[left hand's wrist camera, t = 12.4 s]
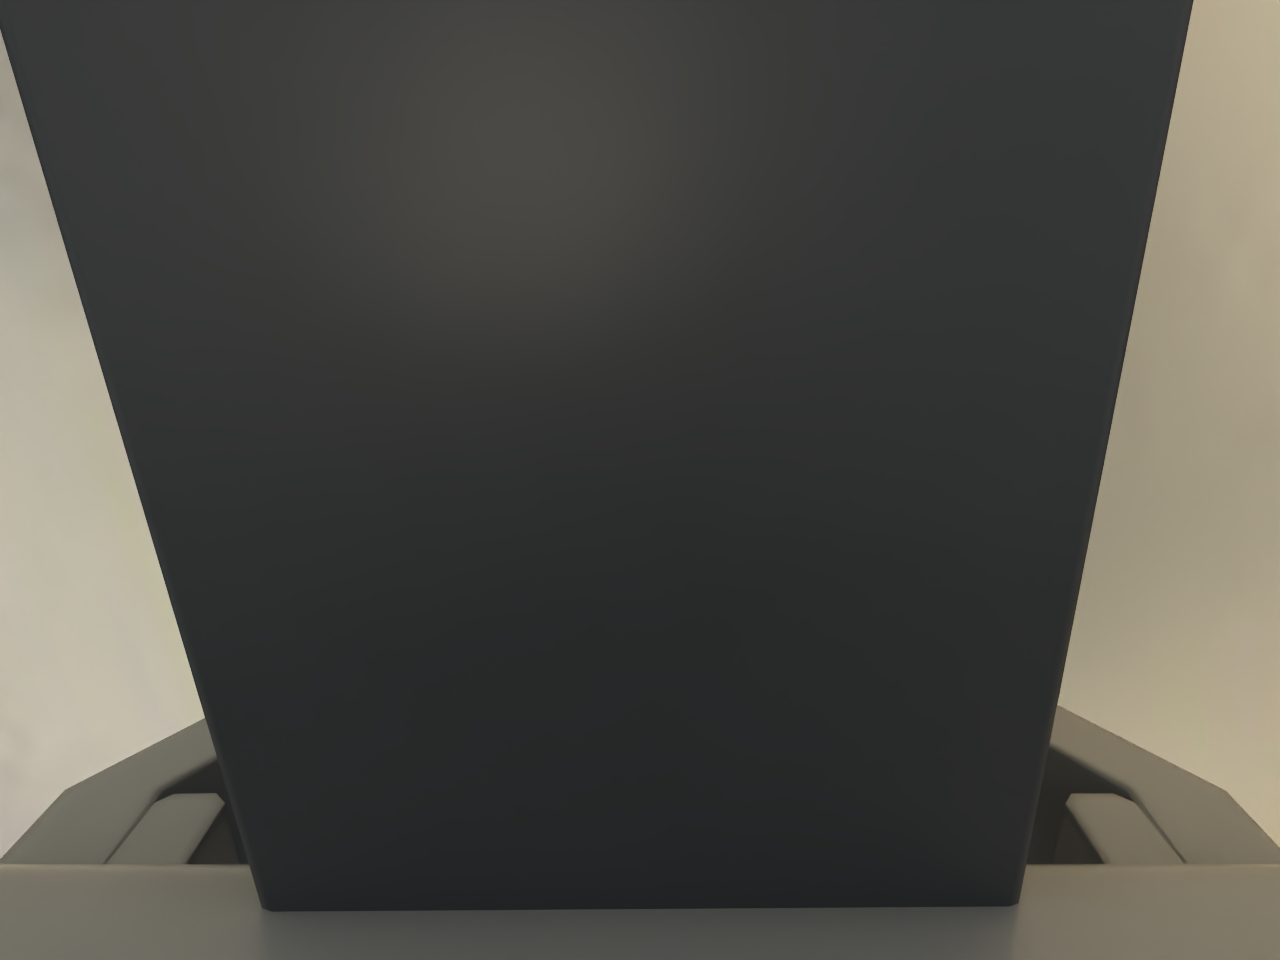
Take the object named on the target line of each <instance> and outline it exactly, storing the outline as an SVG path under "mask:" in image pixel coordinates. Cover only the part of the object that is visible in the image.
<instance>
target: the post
mask: <svg viewBox="0 0 1280 960" xmlns="http://www.w3.org/2000/svg"><path fill="white" fill-rule="evenodd" d="M1192 5H1193V0H0V29H1V33H2V36H3V39H4V43H5V46H6V49H7V53H8V56H9V60H10V63H11V66H12V70H13V73H14V76H15V80H16V83H17V86H18V90H19V93H20V97H21V100H22V103H23V107H24V110H25V113H26V117H27V120H28V123H29V127H30V130H31V134H32V137H33V140H34V144H35V147H36V150H37V154H38V157H39V160H40V164H41V167H42V170H43V174H44V177H45V181H46V184H47V187H48V191H49V194H50V197H51V201H52V204H53V207H54V211H55V214H56V218H57V221H58V224H59V228H60V231H61V234H62V238H63V241H64V244H65V248H66V251H67V255H68V258H69V261H70V265H71V268H72V271H73V275H74V278H75V281H76V285H77V288H78V292H79V295H80V298H81V302H82V305H83V308H84V312H85V315H86V318H87V322H88V325H89V328H90V332H91V335H92V339H93V342H94V345H95V349H96V352H97V355H98V359H99V362H100V365H101V369H102V372H103V376H104V379H105V382H106V386H107V389H108V392H109V396H110V399H111V402H112V406H113V409H114V413H115V416H116V419H117V423H118V426H119V429H120V433H121V436H122V439H123V443H124V446H125V449H126V453H127V456H128V460H129V463H130V466H131V470H132V473H133V476H134V480H135V483H136V486H137V490H138V493H139V497H140V500H141V503H142V507H143V510H144V513H145V517H146V520H147V523H148V527H149V530H150V534H151V537H152V540H153V544H154V547H155V550H156V554H157V557H158V560H159V564H160V567H161V571H162V574H163V577H164V581H165V584H166V587H167V591H168V594H169V597H170V601H171V604H172V607H173V611H174V614H175V618H176V621H177V624H178V628H179V631H180V634H181V638H182V641H183V644H184V648H185V651H186V655H187V658H188V661H189V665H190V668H191V671H192V675H193V678H194V681H195V685H196V688H197V692H198V695H199V698H200V702H201V705H202V708H203V712H204V715H205V718H206V722H207V725H208V729H209V732H210V735H211V739H212V742H213V745H214V749H215V752H216V755H217V759H218V762H219V765H220V769H221V772H222V776H223V779H224V782H225V786H226V789H227V792H228V796H229V799H230V802H231V806H232V809H233V813H234V816H235V819H236V823H237V826H238V829H239V833H240V836H241V839H242V843H243V846H244V850H245V853H246V856H247V860H248V863H249V866H250V870H251V873H252V876H253V880H254V883H255V886H256V890H257V893H258V897H259V900H260V903H261V907H262V908H263V909H266V910H268V911H271V912H295V911H437V910H580V909H722V908H864V907H1007V906H1012V905H1015V904H1017V903H1019V899H1020V894H1021V889H1022V884H1023V879H1024V873H1025V868H1026V863H1027V858H1028V853H1029V848H1030V842H1031V837H1032V832H1033V827H1034V822H1035V816H1036V811H1037V806H1038V801H1039V796H1040V791H1041V785H1042V780H1043V775H1044V770H1045V765H1046V760H1047V754H1048V749H1049V744H1050V739H1051V734H1052V729H1053V723H1054V718H1055V713H1056V708H1057V703H1058V698H1059V692H1060V687H1061V682H1062V677H1063V672H1064V667H1065V661H1066V656H1067V651H1068V646H1069V641H1070V636H1071V630H1072V625H1073V620H1074V615H1075V610H1076V605H1077V599H1078V594H1079V589H1080V584H1081V579H1082V573H1083V568H1084V563H1085V558H1086V553H1087V548H1088V542H1089V537H1090V532H1091V527H1092V522H1093V517H1094V511H1095V506H1096V501H1097V496H1098V491H1099V486H1100V480H1101V475H1102V470H1103V465H1104V460H1105V455H1106V449H1107V444H1108V439H1109V434H1110V429H1111V424H1112V418H1113V413H1114V408H1115V403H1116V398H1117V393H1118V387H1119V382H1120V377H1121V372H1122V367H1123V362H1124V356H1125V351H1126V346H1127V341H1128V336H1129V330H1130V325H1131V320H1132V315H1133V310H1134V305H1135V299H1136V294H1137V289H1138V284H1139V279H1140V274H1141V268H1142V263H1143V258H1144V253H1145V248H1146V243H1147V237H1148V232H1149V227H1150V222H1151V217H1152V212H1153V206H1154V201H1155V196H1156V191H1157V186H1158V181H1159V175H1160V170H1161V165H1162V160H1163V155H1164V150H1165V144H1166V139H1167V134H1168V129H1169V124H1170V119H1171V113H1172V108H1173V103H1174V98H1175V93H1176V87H1177V82H1178V77H1179V72H1180V67H1181V62H1182V56H1183V51H1184V46H1185V41H1186V36H1187V31H1188V25H1189V20H1190V15H1191V10H1192Z"/></svg>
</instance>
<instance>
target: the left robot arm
mask: <svg viewBox="0 0 1280 960" xmlns="http://www.w3.org/2000/svg"><path fill="white" fill-rule="evenodd" d="M0 960H1280V848H1279V847H1278V846H1277V845H1276V843H1275V842H1274V841H1273V840H1272V839H1271V838H1270V837H1269V836H1268V835H1267V834H1266V833H1265V832H1264V831H1263V830H1262V829H1261V828H1260V826H1259V825H1258V824H1257V823H1256V822H1255V821H1254V820H1253V819H1252V818H1251V817H1250V816H1249V815H1248V814H1247V813H1246V812H1245V811H1244V810H1243V808H1242V807H1241V806H1240V805H1239V804H1238V803H1237V802H1236V801H1235V800H1234V799H1233V798H1232V797H1231V796H1230V795H1229V794H1228V793H1227V792H1226V791H1225V790H1223V789H1221V788H1219V787H1217V786H1215V785H1213V784H1211V783H1209V782H1207V781H1205V780H1203V779H1201V778H1199V777H1197V776H1195V775H1193V774H1191V773H1190V772H1188V771H1186V770H1184V769H1182V768H1180V767H1178V766H1176V765H1174V764H1172V763H1170V762H1168V761H1166V760H1164V759H1162V758H1160V757H1158V756H1156V755H1154V754H1152V753H1150V752H1148V751H1146V750H1144V749H1143V748H1141V747H1139V746H1137V745H1135V744H1133V743H1131V742H1129V741H1127V740H1125V739H1123V738H1121V737H1119V736H1117V735H1115V734H1113V733H1111V732H1109V731H1107V730H1105V729H1103V728H1101V727H1099V726H1097V725H1096V724H1094V723H1092V722H1090V721H1088V720H1086V719H1084V718H1082V717H1080V716H1078V715H1076V714H1074V713H1072V712H1070V711H1068V710H1066V709H1064V708H1062V707H1060V706H1058V705H1057V708H1056V713H1055V718H1054V723H1053V729H1052V734H1051V739H1050V744H1049V749H1048V754H1047V760H1046V765H1045V770H1044V775H1043V780H1042V785H1041V791H1040V796H1039V801H1038V806H1037V811H1036V816H1035V822H1034V827H1033V832H1032V837H1031V842H1030V848H1029V853H1028V858H1027V863H1026V868H1025V873H1024V879H1023V884H1022V889H1021V894H1020V899H1019V903H1017V904H1015V905H1012V906H1007V907H864V908H722V909H580V910H437V911H295V912H271V911H268V910H266V909H263V908H262V907H261V903H260V900H259V897H258V893H257V890H256V886H255V883H254V880H253V876H252V873H251V870H250V866H249V863H248V860H247V856H246V853H245V850H244V846H243V843H242V839H241V836H240V833H239V829H238V826H237V823H236V819H235V816H234V813H233V809H232V806H231V802H230V799H229V796H228V792H227V789H226V786H225V782H224V779H223V776H222V772H221V769H220V765H219V762H218V759H217V755H216V752H215V749H214V745H213V742H212V739H211V735H210V732H209V729H208V725H207V722H206V718H204V719H202V720H200V721H198V722H197V723H195V724H193V725H191V726H189V727H187V728H185V729H183V730H181V731H179V732H177V733H175V734H173V735H171V736H169V737H167V738H165V739H163V740H161V741H160V742H158V743H156V744H154V745H152V746H150V747H148V748H146V749H144V750H142V751H140V752H138V753H136V754H134V755H132V756H130V757H128V758H126V759H124V760H123V761H121V762H119V763H117V764H115V765H113V766H111V767H109V768H107V769H105V770H103V771H101V772H99V773H97V774H95V775H93V776H91V777H89V778H87V779H86V780H84V781H82V782H80V783H78V784H76V785H74V786H72V787H70V788H68V789H66V790H65V791H64V792H63V793H62V794H61V795H60V796H59V797H58V798H57V799H56V800H55V801H54V802H53V803H52V804H51V806H50V807H49V808H48V809H47V810H46V811H45V812H44V813H43V814H42V815H41V816H40V817H39V818H38V819H37V821H36V822H35V823H34V824H33V825H32V826H31V827H30V828H29V829H28V830H27V831H26V832H25V833H24V834H23V836H22V837H21V838H20V839H19V840H18V841H17V842H16V843H15V844H14V845H13V846H12V847H11V848H10V849H9V850H8V852H7V853H6V854H5V855H4V856H3V857H2V858H1V859H0Z"/></svg>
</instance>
